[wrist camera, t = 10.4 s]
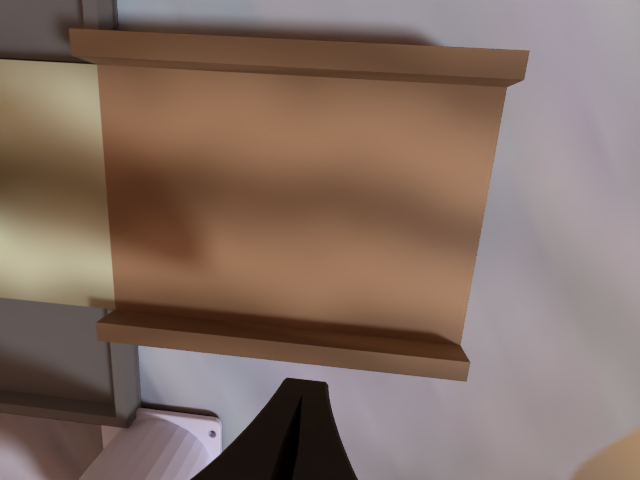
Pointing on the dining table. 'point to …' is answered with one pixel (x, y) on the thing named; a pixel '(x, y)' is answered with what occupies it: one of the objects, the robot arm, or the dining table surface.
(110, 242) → the brown tray with rims
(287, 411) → the robot arm
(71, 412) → the grey flat board
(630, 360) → the dining table surface
